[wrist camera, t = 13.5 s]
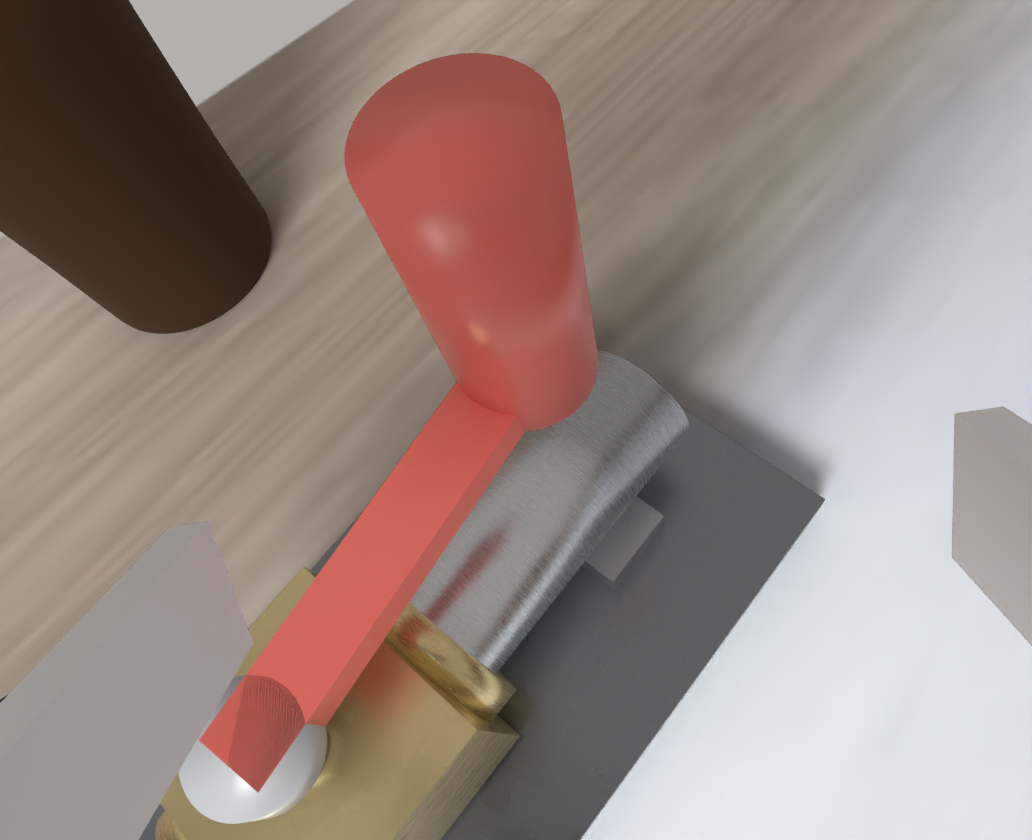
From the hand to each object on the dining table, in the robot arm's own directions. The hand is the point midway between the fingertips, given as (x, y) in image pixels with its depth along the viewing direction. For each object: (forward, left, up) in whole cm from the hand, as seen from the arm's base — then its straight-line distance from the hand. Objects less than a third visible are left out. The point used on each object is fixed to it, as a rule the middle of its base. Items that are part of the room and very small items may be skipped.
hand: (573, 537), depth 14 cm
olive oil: (-29, -6, -17) cm, 34 cm away
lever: (-4, -3, -6) cm, 8 cm away
